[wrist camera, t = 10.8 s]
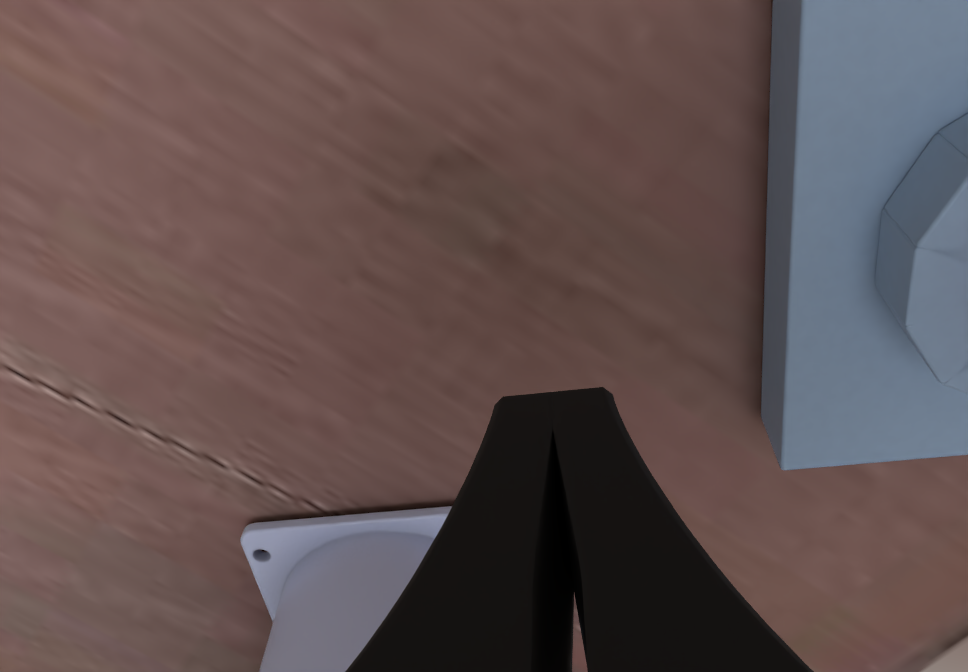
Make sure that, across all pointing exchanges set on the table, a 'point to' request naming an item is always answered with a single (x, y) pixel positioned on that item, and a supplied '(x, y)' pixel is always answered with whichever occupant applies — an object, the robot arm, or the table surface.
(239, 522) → the table surface
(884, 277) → the block
